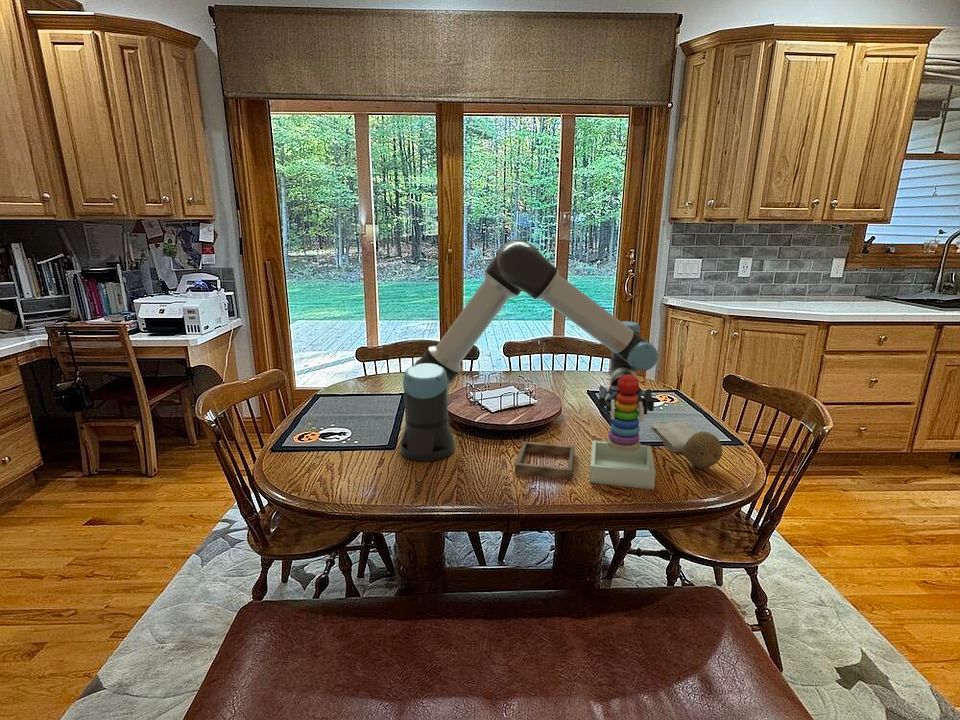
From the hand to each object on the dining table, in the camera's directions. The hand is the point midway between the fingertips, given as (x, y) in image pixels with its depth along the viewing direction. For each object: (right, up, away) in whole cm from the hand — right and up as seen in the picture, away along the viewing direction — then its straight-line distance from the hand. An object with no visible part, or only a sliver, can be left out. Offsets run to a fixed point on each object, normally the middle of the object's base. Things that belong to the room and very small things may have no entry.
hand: (627, 415), depth 121 cm
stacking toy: (+1, -9, +8) cm, 12 cm away
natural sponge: (+22, -15, +11) cm, 29 cm away
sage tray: (+1, -15, +9) cm, 18 cm away
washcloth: (+23, -11, +29) cm, 38 cm away
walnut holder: (-17, -14, +14) cm, 26 cm away
